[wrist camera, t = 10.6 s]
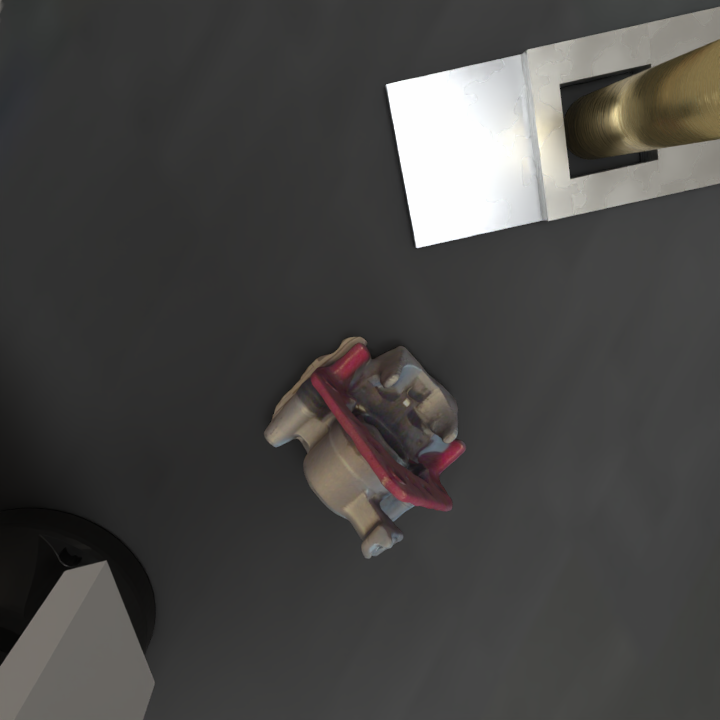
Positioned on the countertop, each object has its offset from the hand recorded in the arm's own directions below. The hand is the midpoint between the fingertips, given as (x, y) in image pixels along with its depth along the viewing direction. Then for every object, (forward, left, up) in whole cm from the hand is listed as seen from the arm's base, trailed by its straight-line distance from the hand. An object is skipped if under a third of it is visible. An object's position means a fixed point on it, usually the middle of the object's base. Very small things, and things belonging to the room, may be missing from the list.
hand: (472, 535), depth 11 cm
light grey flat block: (+19, +7, -27) cm, 33 cm away
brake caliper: (-2, -7, -27) cm, 28 cm away
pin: (+14, +7, -27) cm, 31 cm away
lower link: (+10, +7, -27) cm, 29 cm away
